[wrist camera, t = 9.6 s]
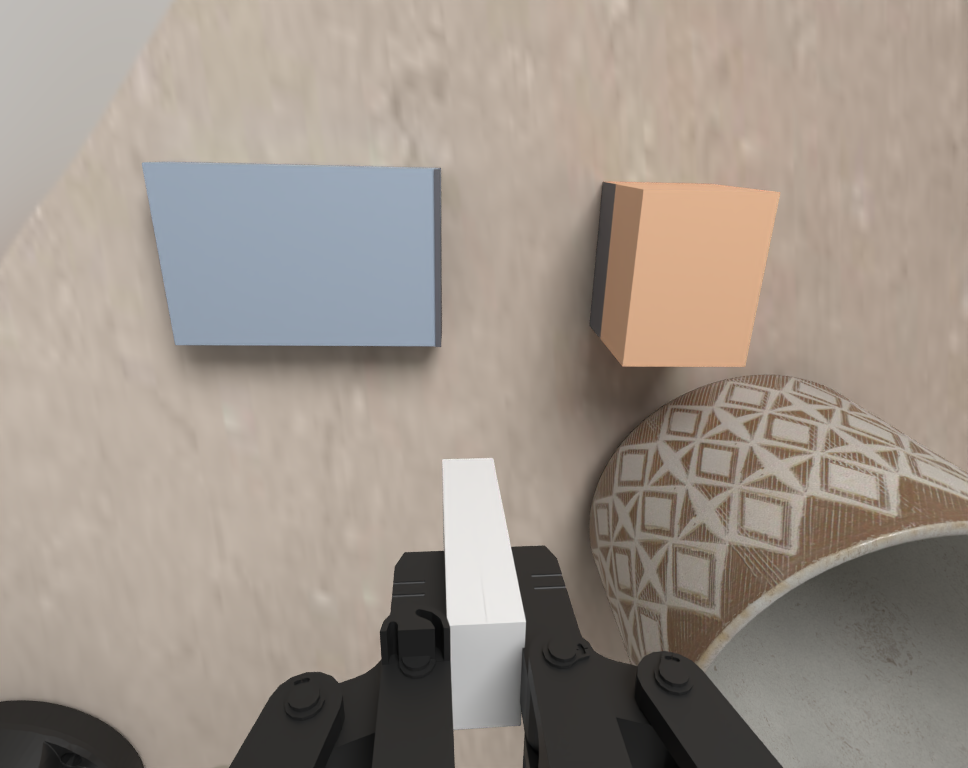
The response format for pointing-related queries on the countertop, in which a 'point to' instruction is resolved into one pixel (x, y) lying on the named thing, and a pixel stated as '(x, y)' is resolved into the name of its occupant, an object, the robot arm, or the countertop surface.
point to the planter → (796, 569)
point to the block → (680, 272)
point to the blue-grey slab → (299, 253)
